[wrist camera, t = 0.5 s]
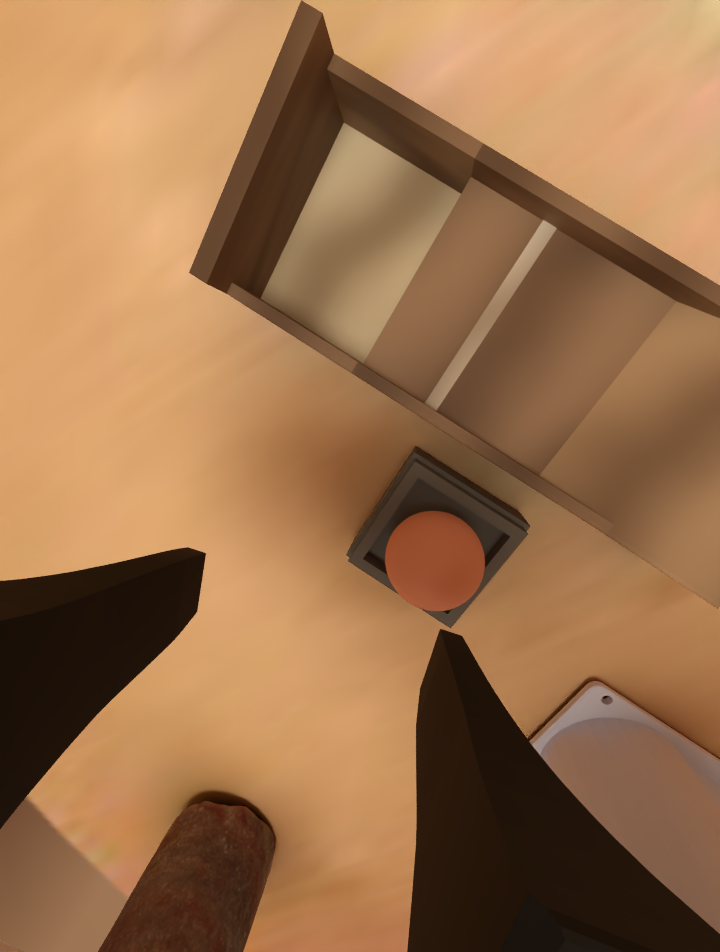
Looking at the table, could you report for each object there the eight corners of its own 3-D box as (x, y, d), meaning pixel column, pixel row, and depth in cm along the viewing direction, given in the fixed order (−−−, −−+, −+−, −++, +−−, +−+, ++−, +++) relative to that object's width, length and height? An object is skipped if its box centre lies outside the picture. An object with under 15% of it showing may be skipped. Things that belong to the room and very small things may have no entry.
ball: (497, 531, 17) (516, 572, 13) (445, 597, 18) (449, 652, 14) (421, 482, 17) (418, 508, 13) (374, 550, 18) (359, 592, 14)
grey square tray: (519, 512, 19) (535, 532, 16) (448, 602, 20) (451, 633, 18) (415, 446, 19) (413, 455, 16) (353, 539, 21) (342, 562, 18)
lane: (814, 394, 16) (962, 395, 11) (655, 561, 18) (726, 614, 14) (335, 103, 16) (301, 0, 12) (244, 300, 19) (189, 272, 15)
